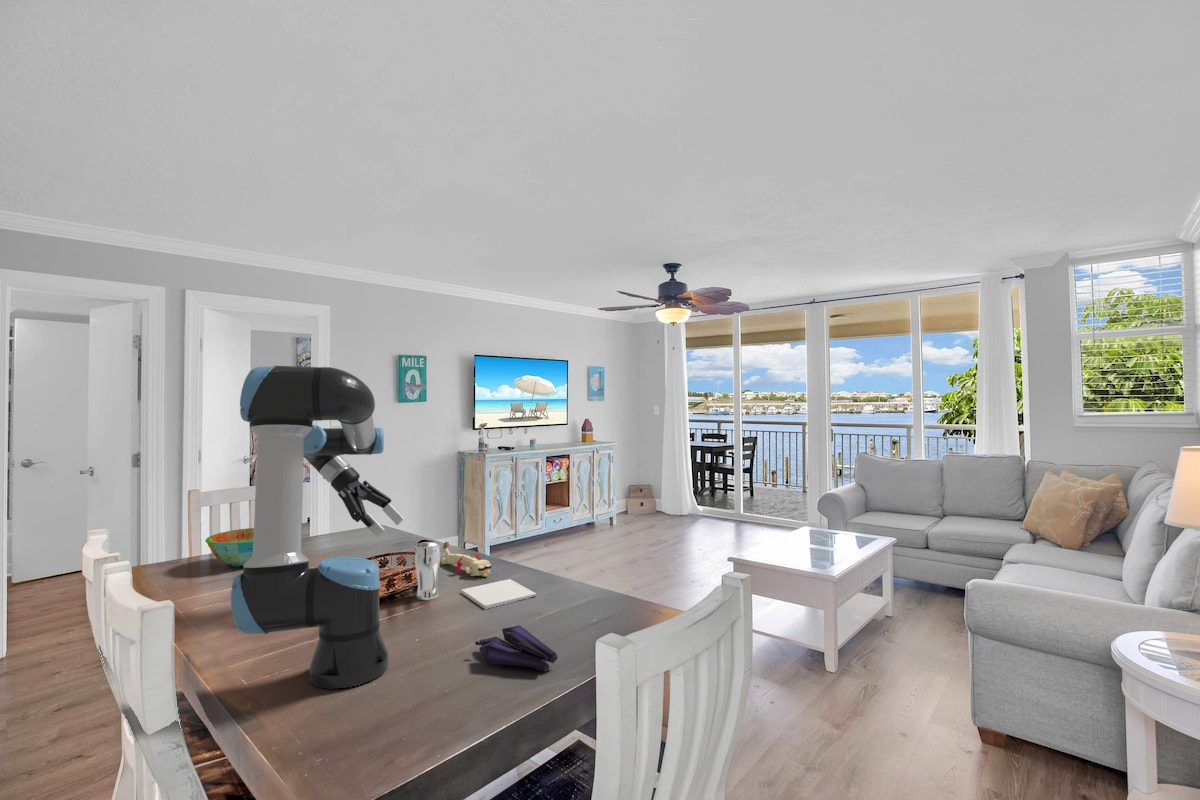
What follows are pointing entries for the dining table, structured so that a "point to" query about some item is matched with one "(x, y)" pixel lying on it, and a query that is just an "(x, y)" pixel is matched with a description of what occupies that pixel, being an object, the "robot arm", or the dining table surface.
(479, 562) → the cream toy animal
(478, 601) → the mat
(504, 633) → the crystal
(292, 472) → the robot arm
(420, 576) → the silver tall cylinder
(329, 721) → the dining table surface
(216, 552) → the bowl
